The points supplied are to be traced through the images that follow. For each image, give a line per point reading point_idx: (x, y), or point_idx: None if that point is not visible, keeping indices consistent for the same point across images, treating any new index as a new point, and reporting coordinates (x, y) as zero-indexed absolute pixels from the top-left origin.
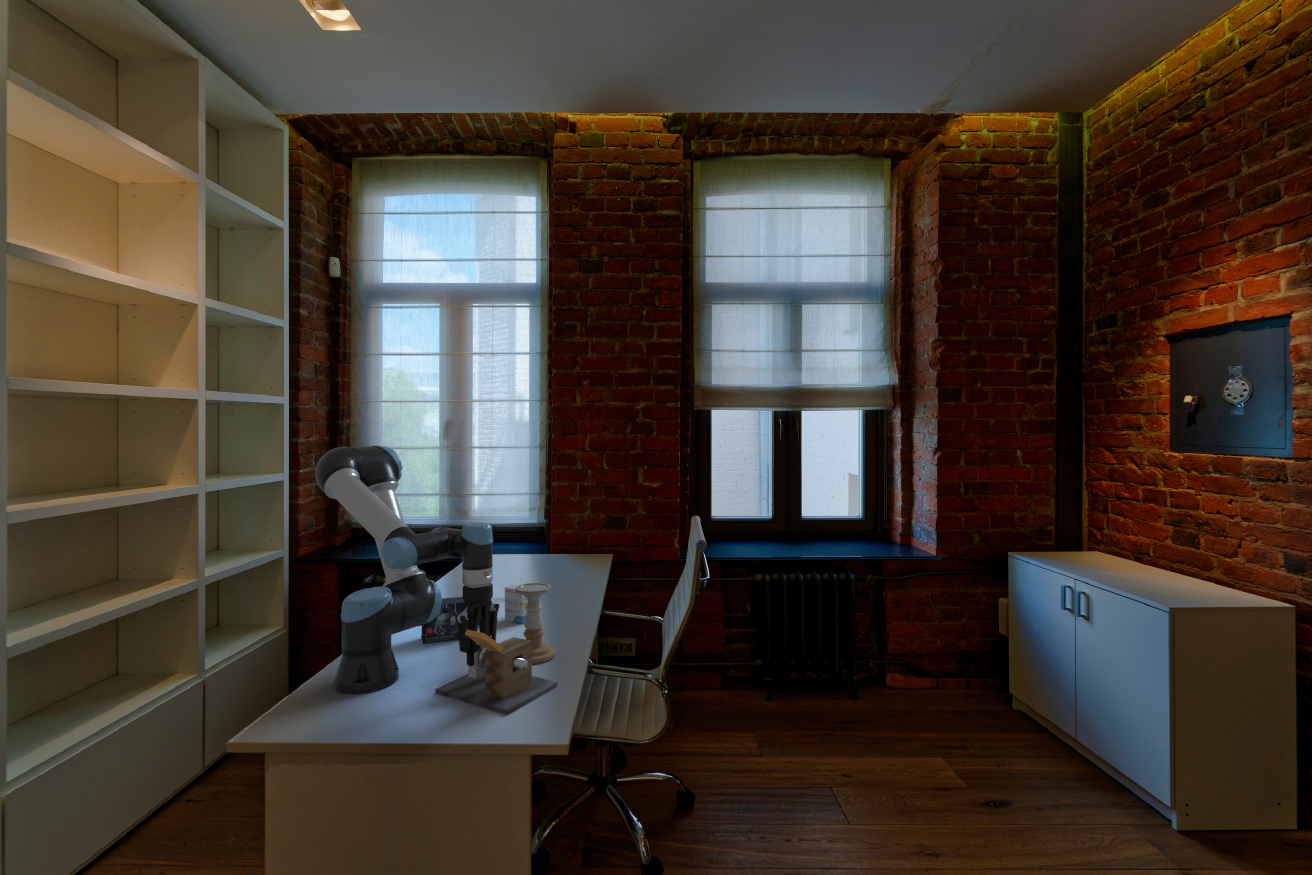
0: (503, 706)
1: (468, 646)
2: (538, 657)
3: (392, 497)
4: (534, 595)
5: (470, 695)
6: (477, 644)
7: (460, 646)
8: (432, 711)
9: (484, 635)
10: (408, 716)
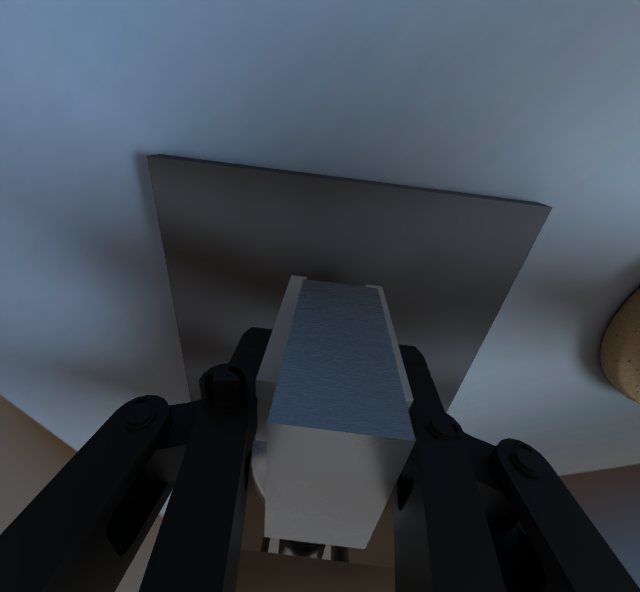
0: None
1: (135, 518)
2: (636, 390)
3: None
4: None
5: (205, 344)
6: (265, 510)
7: (85, 461)
8: (62, 276)
9: None
10: None
